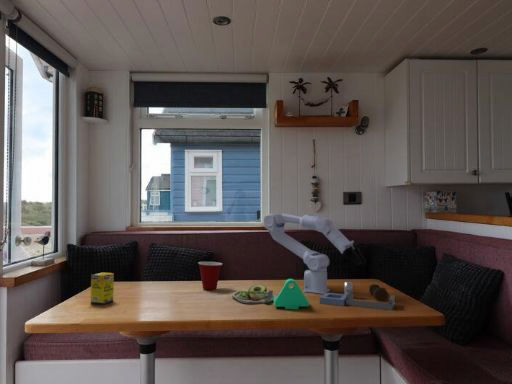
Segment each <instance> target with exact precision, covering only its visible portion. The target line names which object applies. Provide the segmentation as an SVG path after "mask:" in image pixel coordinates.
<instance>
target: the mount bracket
mask: <svg viewBox="0 0 512 384" xmlns="http://www.w3.org/2000/svg"><path fill="white" fill-rule="evenodd" d="M395 296H396V295H393V294H391V295H389V297H388V302H381V301H379V302H378V301H370V300H369V301H368V300H361V299H360V300H359V299H354V290H353V291H350V292H349V293H348V294H347V295H346V304H345V305H346V306H350V307H351V306H352V307H360V308H361V307H363V308H370V309H378V310H380V309H381V310H387V311H393V310H394V307H395V305H396V298H395Z"/></svg>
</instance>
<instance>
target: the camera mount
mask: <svg viewBox="0 0 512 384" xmlns="http://www.w3.org/2000/svg"><path fill="white" fill-rule="evenodd" d="M291 284H292V285H293V286H292V287H290V285H291ZM273 304H274V307H276V308H277V307H278V308H279V307H281V308H283V307H284V309H285V310H298V309H299V307H309V301H308V298H307V297H306V295H305V294H304V291H302V289H301V288H300V286H299V285H298V283H297V282H296V280H295V279H293V278H288V279H286V280H285V282H284V285H283V287H282V288H281V290H280V292H279V293H278V295H277V297H274V301H273Z"/></svg>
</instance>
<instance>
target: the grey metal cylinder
mask: <svg viewBox="0 0 512 384" xmlns="http://www.w3.org/2000/svg"><path fill="white" fill-rule="evenodd" d="M353 289H354V286H353V282H352V281H344V282H343V294H344V295H347V294H348V293H349V292H350V291H353V292H354V290H353Z"/></svg>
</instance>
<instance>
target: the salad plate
mask: <svg viewBox="0 0 512 384" xmlns="http://www.w3.org/2000/svg"><path fill="white" fill-rule="evenodd" d="M267 289H268V288H267V287H266V285H264V284H255V285H251V286H250V287H249V289H248V290H246V291H245V290H239V291H235V292H233V293H232V295H231V296H232V298H233V299H234V300H236V301H237V302H238V303H242V304H246V305H260V304H268V303H271V302H274V297H278V295H276V294H274V291H273V290H267Z"/></svg>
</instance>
